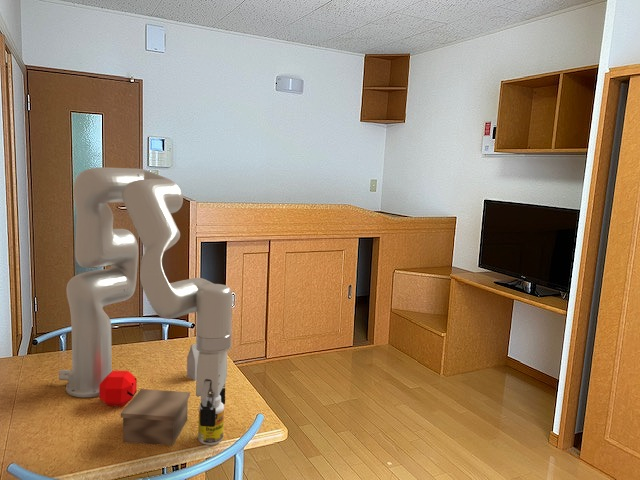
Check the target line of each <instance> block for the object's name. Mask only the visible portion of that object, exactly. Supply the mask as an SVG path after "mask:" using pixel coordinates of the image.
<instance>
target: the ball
mask: <svg viewBox="0 0 640 480" xmlns="http://www.w3.org/2000/svg"><path fill="white" fill-rule="evenodd" d="M137 382H138V380H137V377H135V375H134V374H132V373H131V372H130V371H129V370H112V372H111V373H110V374H109V375H107V376H106V377H105V378H104V379H103V381H102V382H101V383H100V385H99V396H98V397H99V399H100V400H101V401H102V402H103V403H104V404H105V405H106V406H108V407H124V406H125V407H126V406H127V405H128V404H129V403H130V401H131V400H132V399H133V398H134V397H135V396H136V394H137V393H138V392H137V389H138V388H137V387H138V385H137V384H138V383H137Z"/></svg>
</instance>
